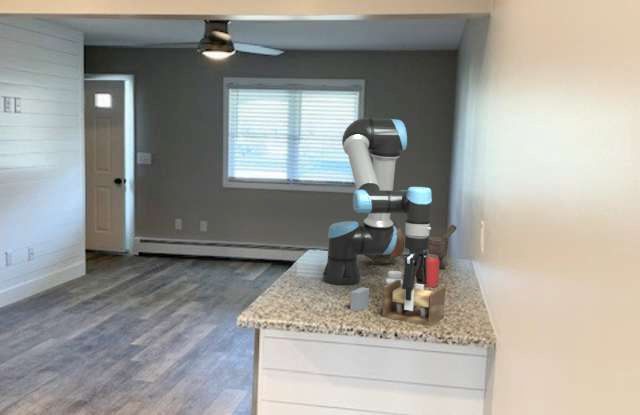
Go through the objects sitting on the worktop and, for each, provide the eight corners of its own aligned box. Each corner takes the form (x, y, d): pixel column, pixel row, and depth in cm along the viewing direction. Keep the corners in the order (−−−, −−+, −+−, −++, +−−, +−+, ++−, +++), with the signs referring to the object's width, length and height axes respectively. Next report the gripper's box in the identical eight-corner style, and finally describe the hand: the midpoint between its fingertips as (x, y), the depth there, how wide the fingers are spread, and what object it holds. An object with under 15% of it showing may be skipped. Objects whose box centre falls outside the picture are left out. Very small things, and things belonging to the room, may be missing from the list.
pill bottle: (397, 307, 203) (399, 275, 201) (381, 304, 206) (383, 272, 205) (405, 303, 208) (406, 271, 207) (389, 300, 211) (390, 269, 210)
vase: (367, 257, 288) (370, 195, 284) (407, 261, 281) (410, 198, 278) (353, 266, 266) (356, 199, 263) (396, 271, 260) (400, 202, 257)
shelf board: (435, 302, 192) (436, 291, 191) (428, 307, 186) (429, 296, 185) (400, 296, 197) (401, 286, 197) (392, 301, 191) (392, 290, 191)
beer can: (437, 288, 232) (439, 257, 230) (420, 287, 233) (422, 256, 232) (438, 284, 238) (439, 254, 237) (421, 283, 239) (422, 253, 238)
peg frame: (382, 317, 191) (384, 286, 190) (396, 309, 201) (397, 279, 200) (432, 326, 183) (433, 294, 182) (443, 317, 193) (445, 287, 192)
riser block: (350, 309, 199) (350, 291, 198) (360, 304, 205) (361, 287, 205) (358, 311, 197) (359, 293, 196) (368, 305, 204) (369, 288, 203)
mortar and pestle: (451, 266, 274) (454, 222, 272) (455, 270, 266) (457, 225, 264) (426, 265, 275) (428, 221, 273) (428, 269, 267) (431, 224, 264)
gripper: (416, 242, 178) (413, 316, 181) (439, 233, 196) (435, 301, 199) (393, 239, 182) (390, 312, 184) (417, 231, 200) (414, 298, 203)
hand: (413, 306), depth 192 cm, fingers open, 8 cm apart
